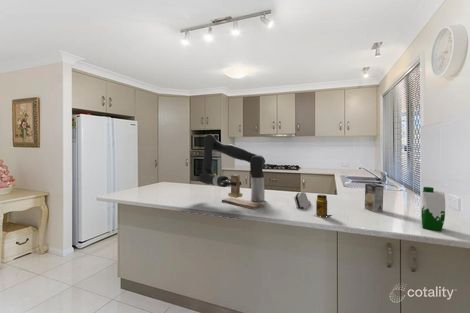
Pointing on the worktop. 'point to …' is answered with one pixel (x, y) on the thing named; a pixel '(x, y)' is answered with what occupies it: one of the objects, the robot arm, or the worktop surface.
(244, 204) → the walnut board
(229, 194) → the upright board on stand
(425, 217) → the milk carton
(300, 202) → the light grey flat case
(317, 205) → the condiment
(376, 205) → the coffee box
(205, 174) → the robot arm
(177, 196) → the worktop surface
